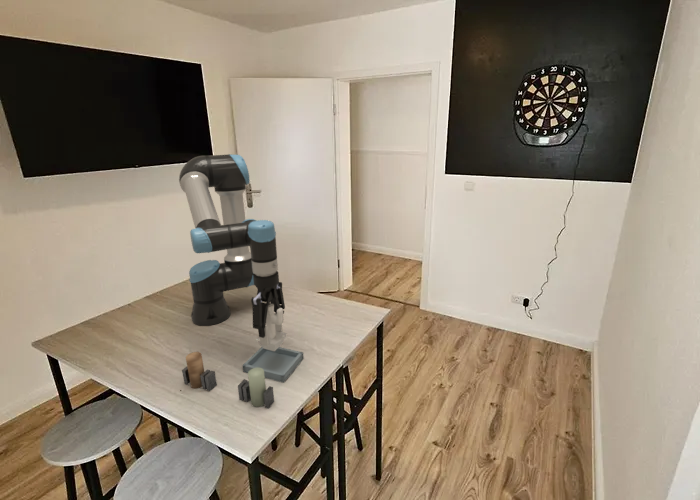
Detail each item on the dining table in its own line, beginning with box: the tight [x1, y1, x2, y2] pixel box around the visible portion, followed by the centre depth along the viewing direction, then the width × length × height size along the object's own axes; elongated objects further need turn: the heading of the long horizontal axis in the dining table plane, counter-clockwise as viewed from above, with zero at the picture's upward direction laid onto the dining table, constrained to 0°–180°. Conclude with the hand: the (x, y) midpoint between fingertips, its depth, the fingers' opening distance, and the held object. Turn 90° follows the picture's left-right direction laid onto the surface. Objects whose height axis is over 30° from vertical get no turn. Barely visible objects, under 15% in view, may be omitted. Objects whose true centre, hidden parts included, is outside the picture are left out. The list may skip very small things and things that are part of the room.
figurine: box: [255, 303, 288, 351], centre depth 116 cm, size 7×9×15 cm
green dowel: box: [247, 368, 267, 408], centre depth 103 cm, size 4×4×10 cm
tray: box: [242, 346, 304, 383], centre depth 120 cm, size 15×13×2 cm
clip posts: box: [181, 365, 275, 409], centre depth 108 cm, size 30×3×5 cm, turn 69°
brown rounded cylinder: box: [185, 351, 205, 390], centre depth 111 cm, size 4×4×10 cm
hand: (271, 337), depth 117 cm, fingers closed on figurine, 7 cm apart
